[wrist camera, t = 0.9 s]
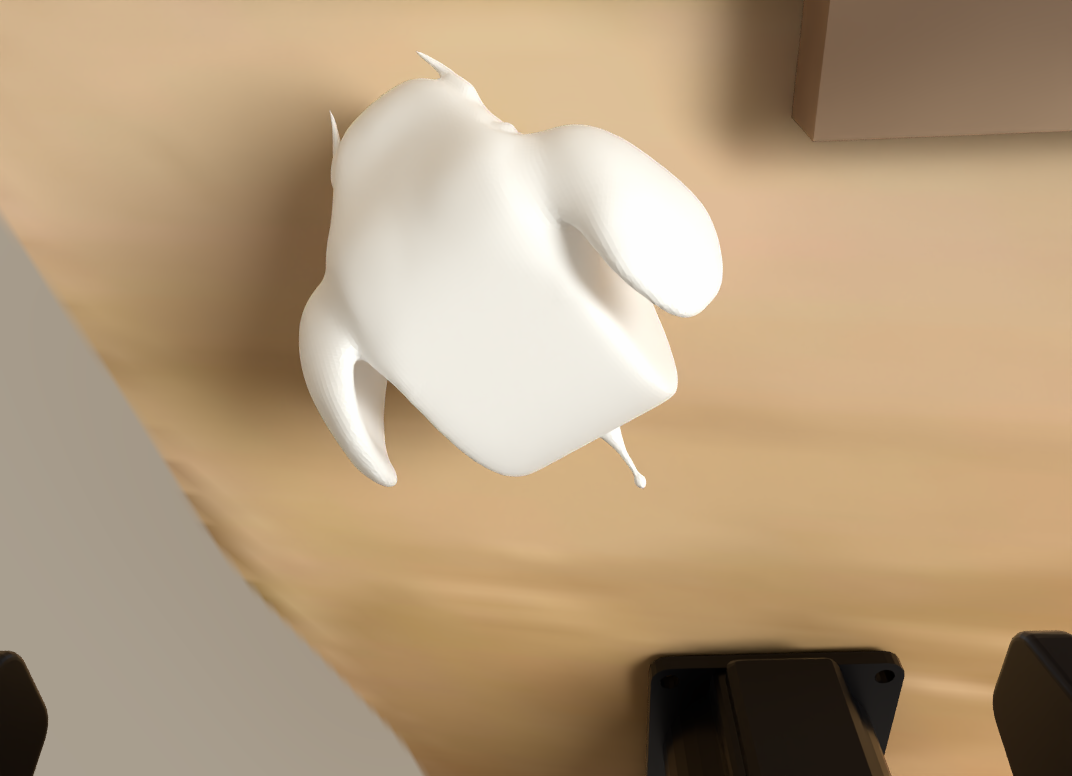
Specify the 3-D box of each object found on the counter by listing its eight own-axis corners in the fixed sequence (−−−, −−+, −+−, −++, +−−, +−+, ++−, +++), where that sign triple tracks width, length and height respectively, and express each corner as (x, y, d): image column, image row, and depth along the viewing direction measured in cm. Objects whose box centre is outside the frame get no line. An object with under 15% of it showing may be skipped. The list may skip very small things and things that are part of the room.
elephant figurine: (550, -70, 15) (554, -19, 9) (771, 297, 18) (861, 479, 13) (246, 159, 17) (116, 303, 12) (497, 450, 20) (482, 658, 15)
